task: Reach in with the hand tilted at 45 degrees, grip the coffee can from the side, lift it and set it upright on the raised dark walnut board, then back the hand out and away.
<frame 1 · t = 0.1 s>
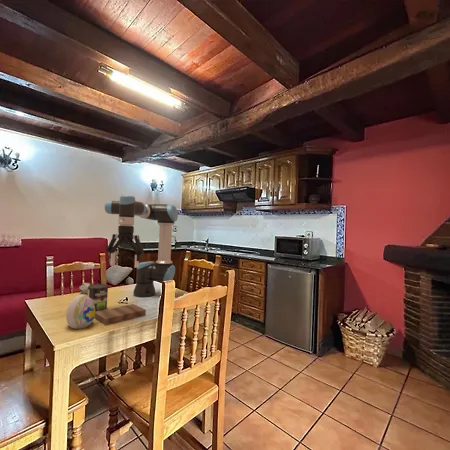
hand: (124, 266, 134), 28 cm above the table, tool pointing down, fingers open, 13 cm apart
coffee can: (97, 311, 146), on the table
game die: (85, 294, 179), on the table
walnut board: (120, 316, 139), on the table
decorative egg: (80, 326, 125), on the table
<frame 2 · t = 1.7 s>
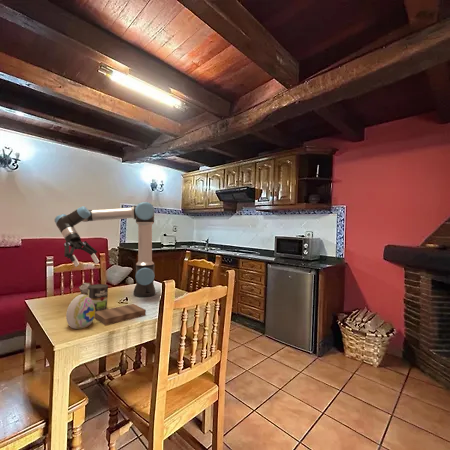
hand: (88, 264, 150), 26 cm above the table, tool tilted 45°, fingers open, 13 cm apart
nothing on the table moved.
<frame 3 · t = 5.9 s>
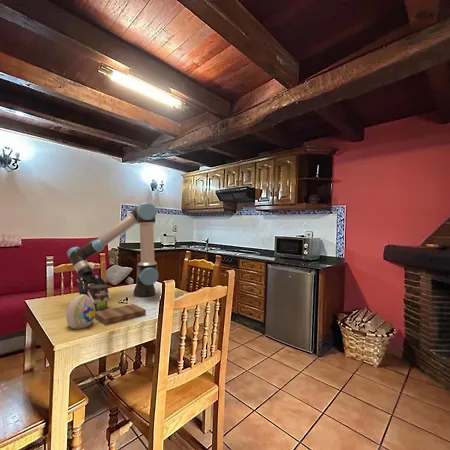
hand: (101, 301, 145), 6 cm above the table, tool tilted 45°, fingers closed on coffee can, 10 cm apart
coffee can: (97, 311, 146), on the table, touching gripper
everything else where it was.
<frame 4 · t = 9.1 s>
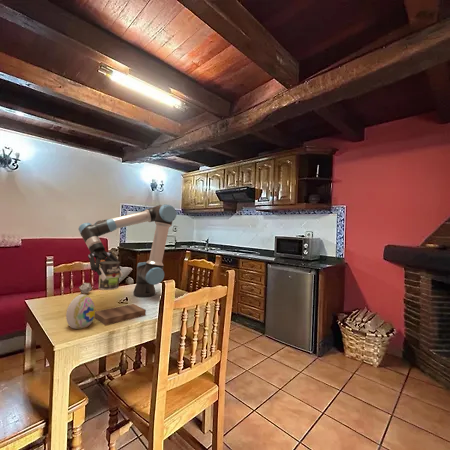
hand: (113, 277, 140), 21 cm above the table, tool tilted 45°, fingers closed on coffee can, 10 cm apart
coffee can: (108, 288, 141), point 14 cm above the table, touching gripper
everything else where it was.
when the fingers open (10 cm above the table, at t = 12.2 s): coffee can drops 1 cm, resting on walnut board.
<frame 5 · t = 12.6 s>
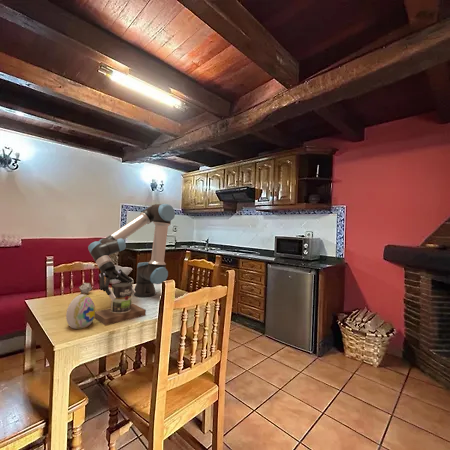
hand: (124, 296, 138), 11 cm above the table, tool tilted 45°, fingers open, 13 cm apart
coffee can: (120, 310, 140), point 3 cm above the table, touching walnut board
everything else where it was.
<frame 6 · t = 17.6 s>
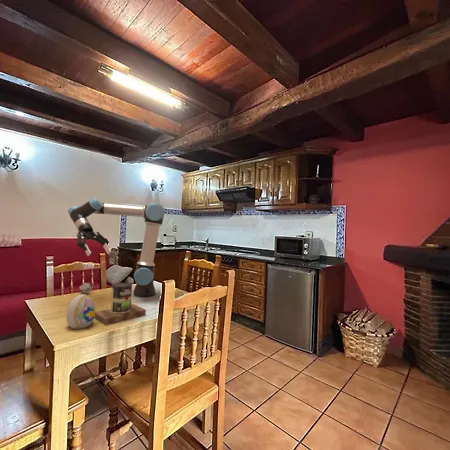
hand: (100, 253, 153), 32 cm above the table, tool tilted 45°, fingers open, 13 cm apart
nothing on the table moved.
at the end: coffee can inside the target area on the walnut board (0.4 cm from its centre), point 2.8 cm above the walnut board's base; coffee can tilted 0°; the gripper is holding nothing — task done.
